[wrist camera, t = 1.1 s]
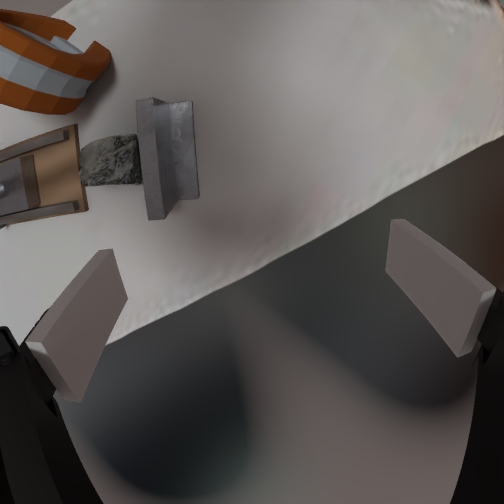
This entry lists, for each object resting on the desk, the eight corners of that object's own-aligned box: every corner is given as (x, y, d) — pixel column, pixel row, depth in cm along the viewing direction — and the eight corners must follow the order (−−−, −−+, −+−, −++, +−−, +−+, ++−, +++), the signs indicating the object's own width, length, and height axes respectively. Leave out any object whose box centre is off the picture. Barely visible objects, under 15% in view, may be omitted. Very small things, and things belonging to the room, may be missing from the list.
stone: (83, 210, 31) (110, 133, 27) (63, 177, 35) (85, 112, 31) (142, 212, 39) (170, 148, 35) (114, 182, 43) (137, 126, 39)
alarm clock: (128, 64, 32) (42, 21, 11) (88, 116, 35) (-16, 122, 14) (51, 12, 25) (-31, -21, 4) (19, 58, 28) (-71, 50, 7)
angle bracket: (157, 106, 35) (135, 100, 26) (192, 101, 36) (180, 93, 26) (166, 199, 41) (148, 220, 32) (199, 196, 41) (190, 216, 32)
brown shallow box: (-6, 153, 34) (-20, 157, 30) (77, 123, 35) (63, 124, 31) (6, 223, 40) (-6, 231, 36) (88, 209, 40) (76, 217, 37)
